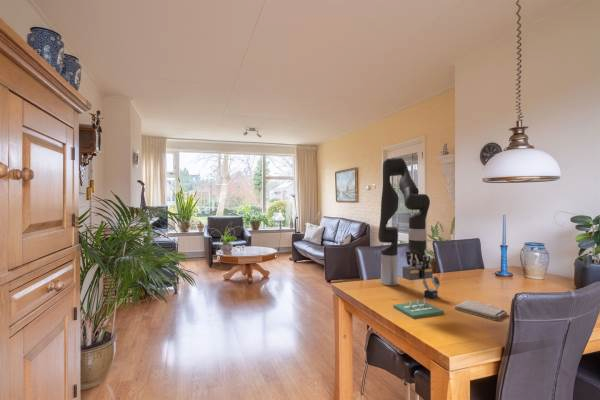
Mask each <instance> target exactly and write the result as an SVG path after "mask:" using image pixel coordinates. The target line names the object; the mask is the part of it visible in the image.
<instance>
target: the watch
mask: <svg viewBox="0 0 600 400" xmlns="http://www.w3.org/2000/svg"><path fill="white" fill-rule="evenodd" d="M430 279H431V282H432V284H433V286H435V289H433V288H429V286H428V284H427V281H426V280H427V279H422V284H423V286H424V289H426V290H424V291H423V294H424V296H423V297H424V298H427V299H432V300H433V299H435V298H437V297H438V296H439V295H438V293H439V291H438V289H439V288H440V285H441V283H440V282H441V281H440V279H439V278H438V277H437V276H435V275H433V278H430Z"/></svg>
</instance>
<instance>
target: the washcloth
mask: <svg viewBox="0 0 600 400" xmlns="http://www.w3.org/2000/svg"><path fill="white" fill-rule="evenodd" d="M454 310H456V311H460V312H464V313H467V314H471V315H475V316H477V317H481V316H482V318H484V317H485V319H488V320H492V321H497V320H500V319H502V318H503V316H504V317H505V316H507V315H508V311H507V310H505V309H504V308H500V307H497V306H495V305H494V304H489V303H488V304H487V303H483V302H480V301H475V300H471V299H467V300H465V301H464V300H463V302H462V303H459V304H456V305H455V306H454ZM501 317H502V318H501Z"/></svg>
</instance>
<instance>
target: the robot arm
mask: <svg viewBox="0 0 600 400" xmlns="http://www.w3.org/2000/svg"><path fill="white" fill-rule="evenodd" d="M394 176H400V177H401V178H400V179H399V182H398V183H399V184H398V188H399V190H400V191H401V193H402V195H403V200H404V207H406V209H407V210H410V211H417V210H418V212H417V213H416V214H413V215H410V216H409V218H408V236H407V237H408V249H409V250H410V251H406V252H405V257H406V263H407V266H415V265H419V269H420V270H419V278H424V277H425V269H428V268H429V266H430V262H431V261H430V260H431V256H429V255H426V253H425V251H426V250H427V229H426V227H427V226H426V225H427V224H426V223H427V222H426V221H427V216H428V212H429V209H430V205H431V200H430V196H428V195H427V194H425V193H420V194H419V192H420V190H419V188H418V186H417V184H415V182H414V181H413V178H412V177H411V174H410V172H409V168H408V166H407V163H406V161H405V160H404V159H403V158H402V157H393V158H386V159H383V162H382V186H381V187H382V190H381V200H380V218H379V227H378V236H377V237H378V241H379V242H380V243H384V244H385V243H389V244H390V245H388V246H386V247H384V248H382V249H381V250H380V261H381V264H380V265H381V266H380V283H381V285H384V286H398V285H399V283H398V282H399V279H398V278H399V274H398V272H399V271H398V268H399V267H398V265H399V263H398V260H399V259H398V256H399V255H398V254H399V253H398V246H399V245H398V244H399V243H398V242H399V229H398V228H397V227H396V226H387V225H388V223H389V221H390V219H392V217H393V216H394V215H395V214H396V212H397V211H398V210H399V209H398V208H399V201H400V198H399V195H398V193H397V191H396V190H395V187H393V185H392V183H391V177H394ZM421 265H422V267H421ZM425 265H426V266H425Z"/></svg>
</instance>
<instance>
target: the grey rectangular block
mask: <svg viewBox="0 0 600 400" xmlns="http://www.w3.org/2000/svg"><path fill="white" fill-rule="evenodd" d="M425 266H426V265H425ZM421 267H422V264H421ZM419 270H420V269H419V265H418V264H416V265H415V266H410V265H406V266H405V265H403V266H402V278H403V279H405V280H408V281H417V280H423V279H425V280H427V279H431V278H433V276H434V273H433V266H431V265H429V268H428V269H425V277H424V278H419Z"/></svg>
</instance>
